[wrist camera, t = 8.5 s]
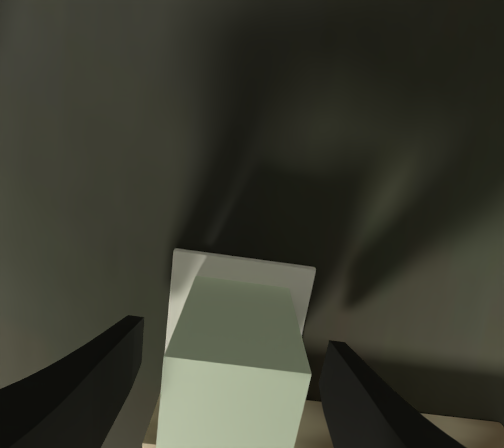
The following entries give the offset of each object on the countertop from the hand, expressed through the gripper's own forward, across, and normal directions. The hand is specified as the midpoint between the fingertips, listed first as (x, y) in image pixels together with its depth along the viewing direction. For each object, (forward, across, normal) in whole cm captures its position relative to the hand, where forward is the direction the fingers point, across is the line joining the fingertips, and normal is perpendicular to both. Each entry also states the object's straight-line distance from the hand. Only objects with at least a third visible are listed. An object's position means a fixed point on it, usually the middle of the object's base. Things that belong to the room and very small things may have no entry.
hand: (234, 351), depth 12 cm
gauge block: (+2, 0, 0) cm, 2 cm away
